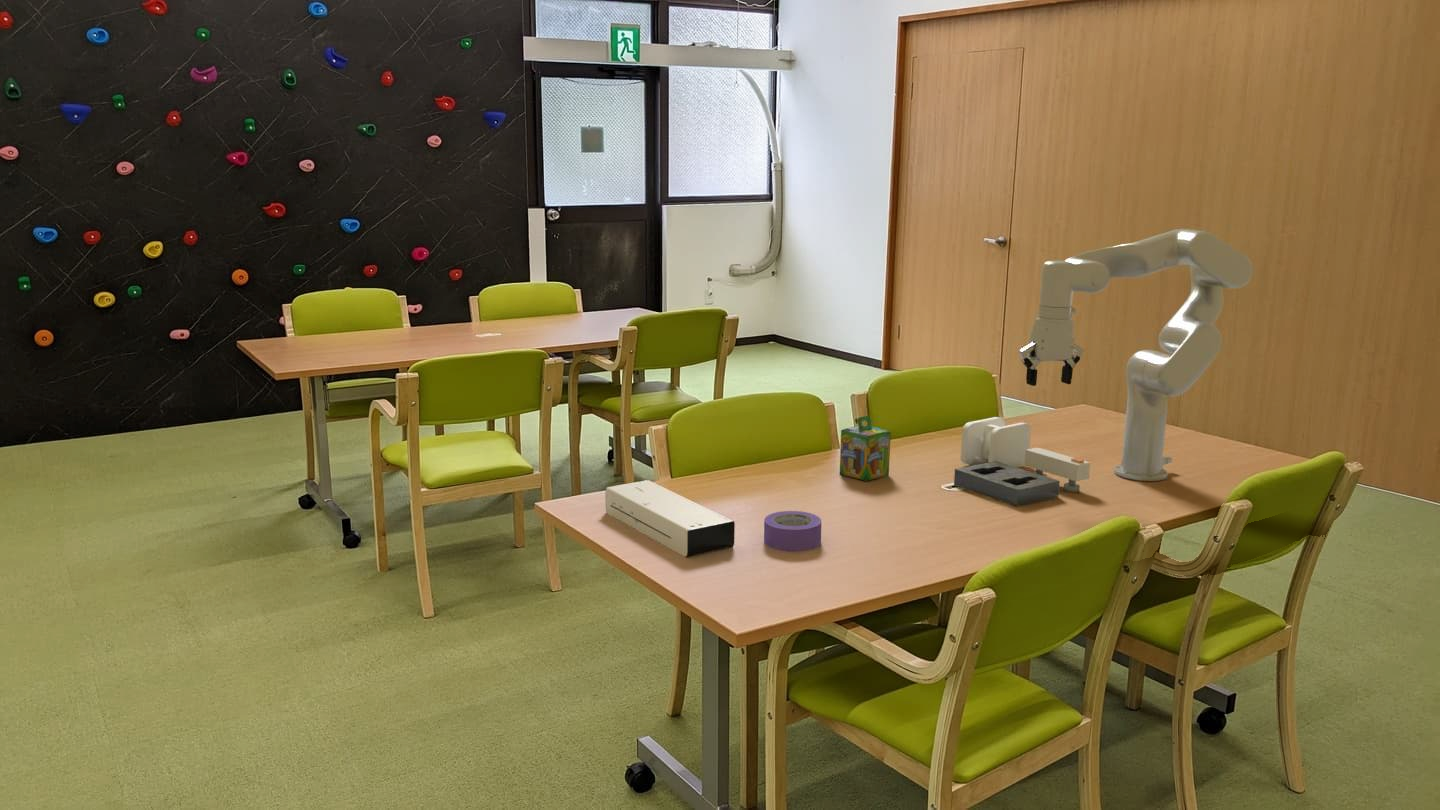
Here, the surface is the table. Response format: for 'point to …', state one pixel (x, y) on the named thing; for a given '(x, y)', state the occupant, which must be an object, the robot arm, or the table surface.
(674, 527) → the laminator
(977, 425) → the cable organizer
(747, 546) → the table surface
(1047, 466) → the white bar with pegs
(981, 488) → the grey slotted tray
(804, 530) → the tape roll
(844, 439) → the chalk box
